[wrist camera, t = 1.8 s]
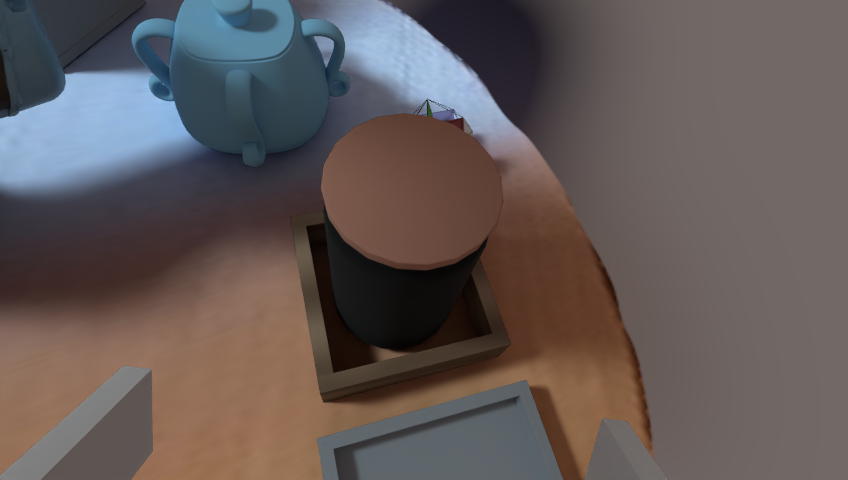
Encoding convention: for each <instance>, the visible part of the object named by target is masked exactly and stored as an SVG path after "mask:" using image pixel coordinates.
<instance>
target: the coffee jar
mask: <svg viewBox="0 0 848 480" xmlns="http://www.w3.org/2000/svg"><path fill="white" fill-rule="evenodd" d="M321 191H322V195H323V199H324V202H325V205H324V221H325V230H326V238H327V246H328V254H329V263H330V271H331V279H332V288H333V296H334V300H335V304H336V308H337V313H338V315H339V316H340V318H341V319H342V321H343V323H344V324H345V326H346V327H347V329H348V330H349V331H351V332H352V333H353V334H354V335H356V336H357V337H358V338H359V339H361V340H362V341H363V342H366V343H369V344H372V345H374V346H377V347H380V348H389V349H403V348H407V347H410V346H414V345H418V344H421V343H422V342H424V341H425V340H427V339H428V338H429V337H431V336H432V335H434V334H435V333H436V332H437V331H438V330H439V328H440V327H441V326H442V324H443V323H444V322H445V320H446V319H447V317H448V315H449V314H450V312H451V310H452V308H453V306H454V304H455V302H456V300H457V299H458V297H459V295H460V293H461V291H462V289H463V287H464V285H465V284H466V282H467V280H468V278H469V276H470V274H471V272H472V271H473V269H474V267H475V265H476V263H477V261H478V259H479V257H480V256H481V254H482V252H483V250H484V248H485V246H486V243H487V239H488V236H489V234H490V233H491V232H492V230H493V229H494V228H495V226H496V225H497V222H498V218H499V215H500V212H501V208H502V205H503V194H502V183H501V177H500V175H499V172H498V170H497V168H496V166H495V164H494V162H493V160H492V157H491V156H490V155H489V154H488V152H487V151H486V150H485V149H484V148H483V147H482V146H481V145H480V144H479V143H478V141H477V140H476V139H475V138H474V137H472V136H470V135H469V134H467V133H466V132H464V131H463V130H461V129H460V128H458V127H456V126H455V125H453V124H451V123H448V122H445V121H442V120H439V119H436V118H433V117H430V116H424V115H413V114H396V115H389V116H382V117H377V118H374V119H372V120H370V121H367V122H365V123H363V124H360V125H358V126H356V127H354V128H353V129H352V130H350V131H349V132H348V133H347V134H346V135H345V136H343V137H342V138H341V139H340V140H339V141H338V142H336V144H335V146H334V147H333V149H332V151H331V153H330V155H329V156H328V158H327V160H326V162H325V163H324V168H323V176H322V183H321Z"/></svg>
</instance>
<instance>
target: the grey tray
mask: <svg viewBox="0 0 848 480" xmlns="http://www.w3.org/2000/svg"><path fill="white" fill-rule="evenodd" d="M317 441H318V448H319V454H320V460H321V466H322V472H323V479H324V480H563V478H562V475H561V472H560V469H559V467H558V464H557V461H556V459H555V456H554V453H553V450H552V448H551V445H550V442H549V440H548V437H547V434H546V431H545V429H544V426H543V423H542V421H541V418H540V415H539V412H538V410H537V407H536V404H535V401H534V399H533V396H532V393H531V391H530V388H529V385H528V382H527V380H524V381H520V382H517V383H513V384H510V385H506V386H502V387H499V388H495V389H492V390H488V391H485V392H481V393H477V394H474V395H470V396H467V397H463V398H460V399H456V400H453V401H449V402H445V403H442V404H438V405H435V406H431V407H428V408H424V409H420V410H417V411H413V412H410V413H406V414H403V415H399V416H395V417H392V418H388V419H385V420H381V421H378V422H374V423H370V424H367V425H363V426H360V427H356V428H353V429H349V430H345V431H342V432H338V433H335V434H331V435H328V436H324V437H321V438H317Z"/></svg>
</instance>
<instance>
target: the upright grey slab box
mask: <svg viewBox="0 0 848 480" xmlns="http://www.w3.org/2000/svg"><path fill="white" fill-rule="evenodd" d="M32 2H33V4H34V7H35V9H36V11H37V13H38V15H39V17H40V19H41V21H42V24H43V26H44V28H45V30H46V32H47V34H48V37H49V39H50V41H51V43H52V45H53V48H54V50H55V52H56V54H57V57H58V59H59V61H60V64H61V66H62V69H64V67H65V66H66V65H67V64H69V63H70V62H71V61H72V60H74V59H75V58H76V57H77V56H79V55H80V54H81V53H83V52H84V51H85V50H86V49H88V48H89V47H90V46H91V45H93V44H94V43H95V42H97V41H98V40H99V39H100V38H102V37H103V36H104V35H105V34H107V33H108V32H109V31H111V30H112V29H113V28H114V27H116V26H117V25H118V24H119V23H121V22H122V21H123V20H125V19H126V18H127V17H128V16H130V15H131V14H132V13H133V12H135V11H136V10H138V9H140V8H141V6H142V5H144V4H145V3H146V2H145V0H32Z"/></svg>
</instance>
